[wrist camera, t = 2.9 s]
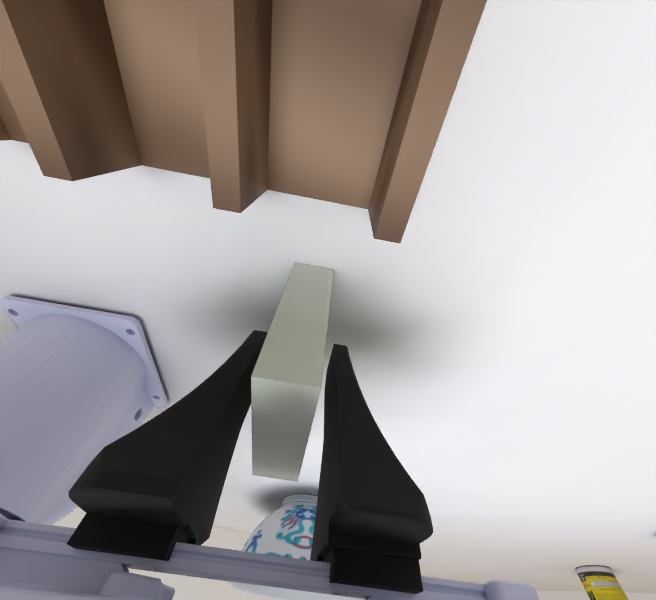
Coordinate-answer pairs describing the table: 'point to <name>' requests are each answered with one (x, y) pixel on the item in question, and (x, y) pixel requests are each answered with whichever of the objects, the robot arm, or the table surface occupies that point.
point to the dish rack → (239, 93)
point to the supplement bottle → (600, 583)
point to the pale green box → (290, 374)
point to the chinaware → (286, 545)
